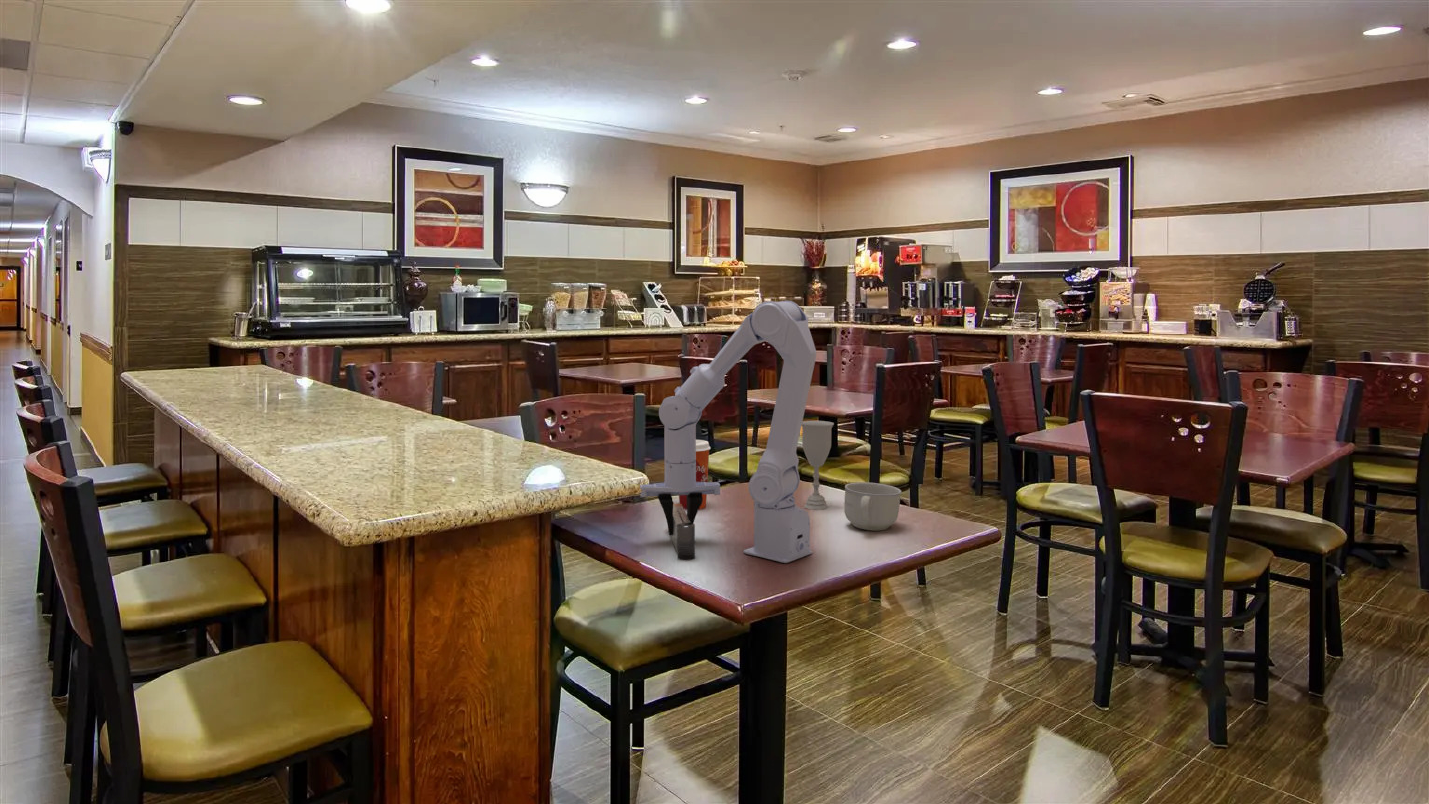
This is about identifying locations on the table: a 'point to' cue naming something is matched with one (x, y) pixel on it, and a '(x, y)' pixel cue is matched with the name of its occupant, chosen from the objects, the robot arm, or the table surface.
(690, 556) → the tongs fixed arm
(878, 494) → the teacup
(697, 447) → the paper cup
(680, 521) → the tongs moving arm
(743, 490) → the table surface
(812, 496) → the chalice
